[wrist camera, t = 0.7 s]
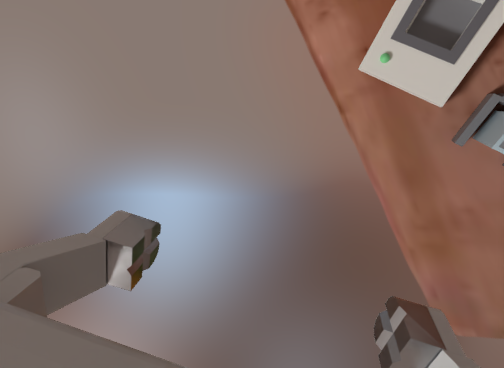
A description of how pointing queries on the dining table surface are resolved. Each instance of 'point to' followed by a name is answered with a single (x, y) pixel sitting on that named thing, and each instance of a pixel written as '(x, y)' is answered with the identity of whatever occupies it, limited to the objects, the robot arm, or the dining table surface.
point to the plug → (492, 132)
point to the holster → (478, 117)
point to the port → (432, 44)
